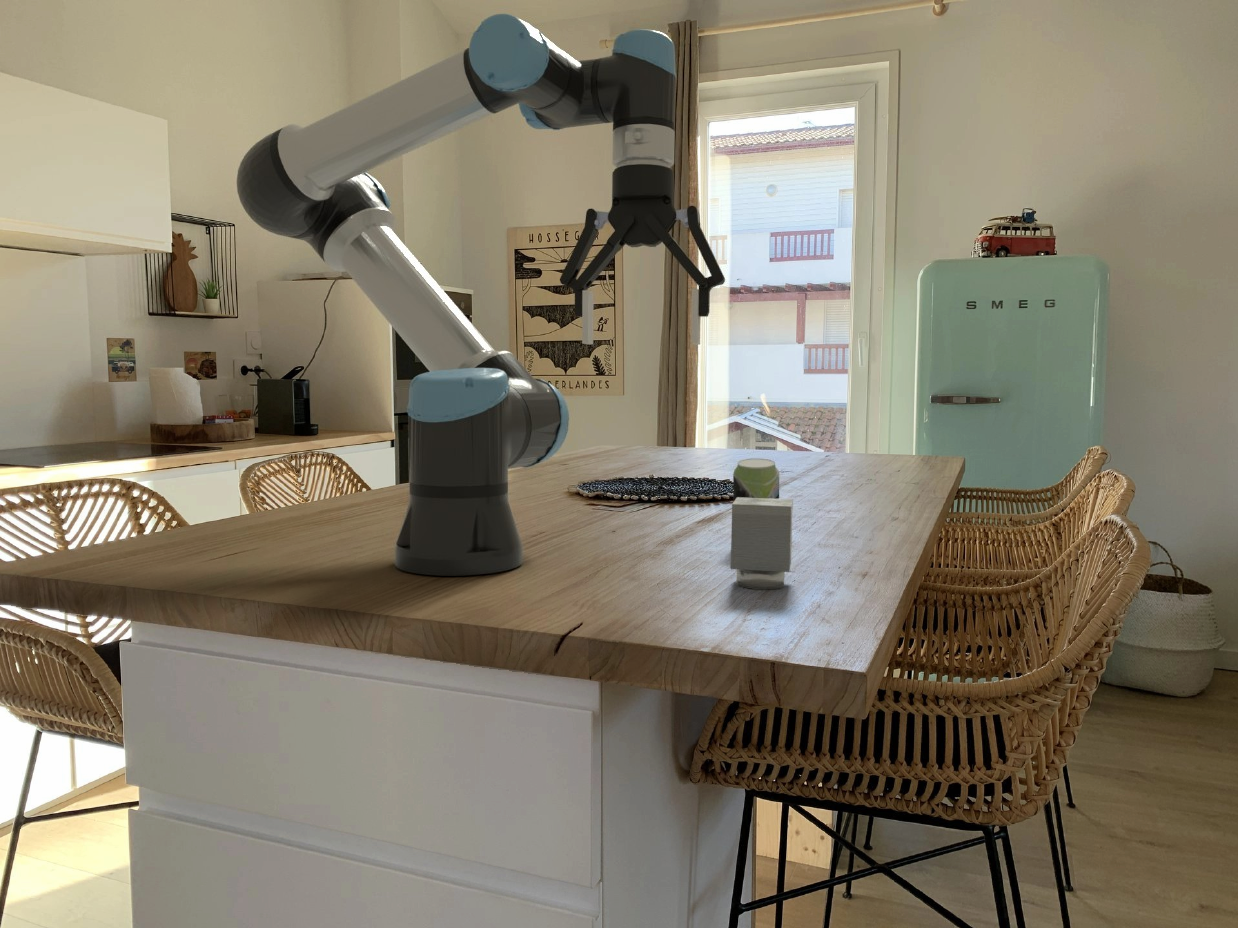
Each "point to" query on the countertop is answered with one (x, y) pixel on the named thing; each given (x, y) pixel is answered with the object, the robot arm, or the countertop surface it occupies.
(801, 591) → the countertop surface
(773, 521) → the brushed steel cube
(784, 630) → the countertop surface
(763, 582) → the ratchet
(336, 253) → the robot arm
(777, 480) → the beverage can
